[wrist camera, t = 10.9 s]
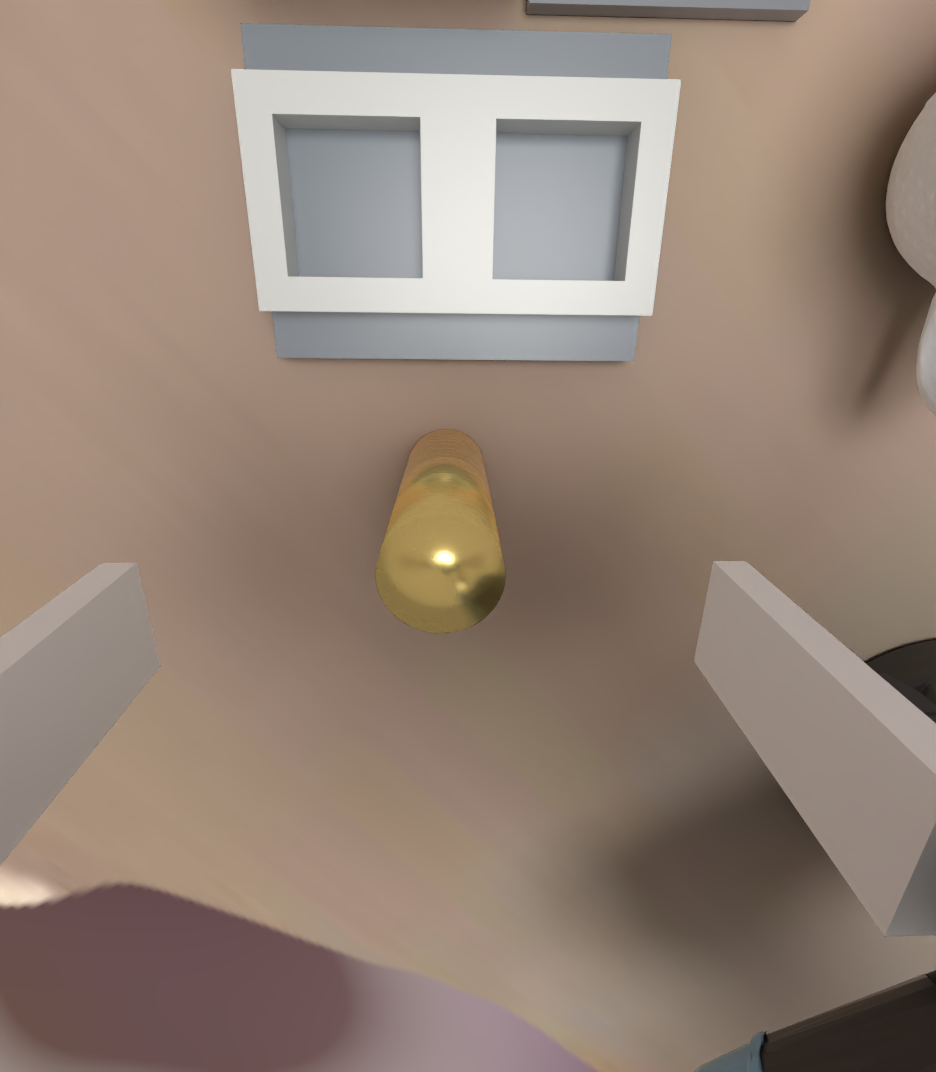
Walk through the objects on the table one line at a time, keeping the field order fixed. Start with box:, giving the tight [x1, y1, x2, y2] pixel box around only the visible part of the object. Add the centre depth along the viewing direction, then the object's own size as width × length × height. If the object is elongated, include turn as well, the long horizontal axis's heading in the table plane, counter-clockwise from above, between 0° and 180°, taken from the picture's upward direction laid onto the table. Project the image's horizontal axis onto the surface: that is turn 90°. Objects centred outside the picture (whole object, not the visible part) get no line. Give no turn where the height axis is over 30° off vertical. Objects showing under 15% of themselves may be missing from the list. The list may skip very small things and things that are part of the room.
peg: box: [375, 429, 506, 633], centre depth 21 cm, size 4×4×12 cm
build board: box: [231, 23, 681, 361], centre depth 21 cm, size 11×15×3 cm
